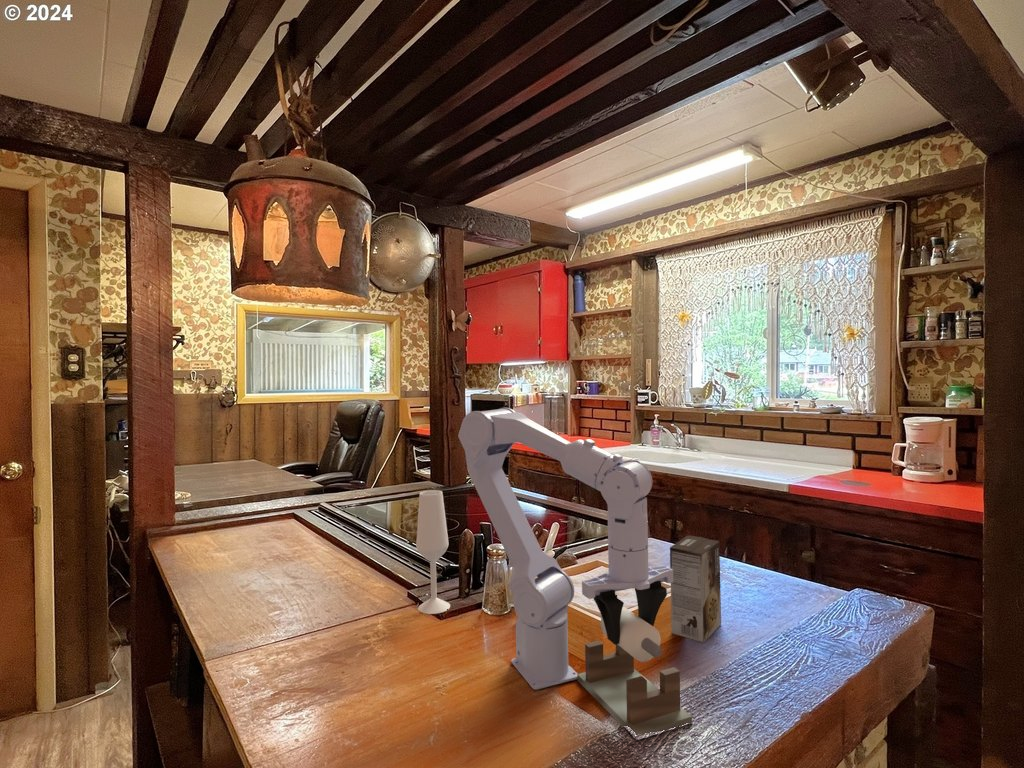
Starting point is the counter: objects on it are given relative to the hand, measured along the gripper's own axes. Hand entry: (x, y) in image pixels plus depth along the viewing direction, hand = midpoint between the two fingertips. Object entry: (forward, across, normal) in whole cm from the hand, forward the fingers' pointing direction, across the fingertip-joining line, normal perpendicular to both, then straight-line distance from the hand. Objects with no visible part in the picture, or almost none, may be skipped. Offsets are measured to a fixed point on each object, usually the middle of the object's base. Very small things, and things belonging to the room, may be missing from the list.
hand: (629, 637), depth 83 cm
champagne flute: (+10, -18, +45) cm, 49 cm away
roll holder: (+9, 0, 0) cm, 9 cm away
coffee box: (+10, +24, +14) cm, 29 cm away
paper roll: (-1, 0, 0) cm, 1 cm away
